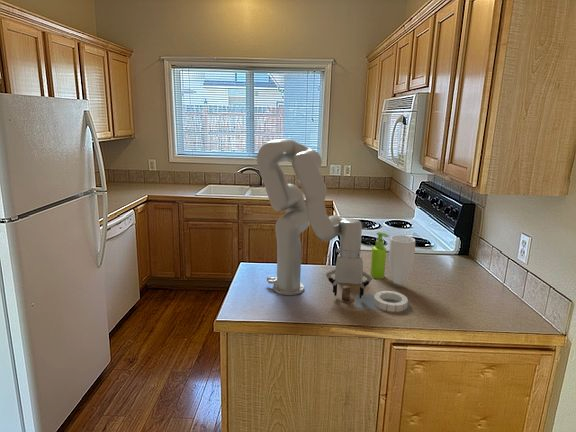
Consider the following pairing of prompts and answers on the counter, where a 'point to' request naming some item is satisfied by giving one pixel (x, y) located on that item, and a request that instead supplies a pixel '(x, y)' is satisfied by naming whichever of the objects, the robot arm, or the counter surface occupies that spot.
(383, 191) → the counter surface
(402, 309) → the ring
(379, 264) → the soap dispenser
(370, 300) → the board
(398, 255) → the cup
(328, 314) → the counter surface
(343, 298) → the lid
